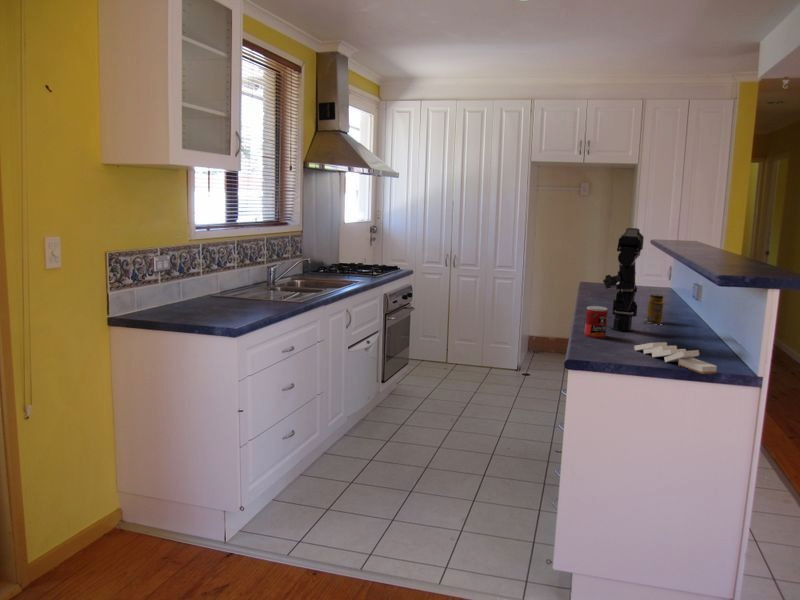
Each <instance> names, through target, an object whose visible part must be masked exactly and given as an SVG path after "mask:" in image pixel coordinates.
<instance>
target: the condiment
mask: <svg viewBox="0 0 800 600" xmlns="http://www.w3.org/2000/svg"><path fill="white" fill-rule="evenodd" d="M647 304H648V305H647V310H646V311H647V312H646V313H647V314H646V320H647V322H652V323H661V322H662V319H663V318H662V317H663V308H664V296H663V295H661V294H650V295H649V300H648V301H647ZM662 325H663V323H662V324H660V325H659V326H662Z"/></svg>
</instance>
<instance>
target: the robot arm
mask: <svg viewBox="0 0 800 600" xmlns="http://www.w3.org/2000/svg"><path fill="white" fill-rule="evenodd" d="M640 231H641V230H640V229H639V228H638V227H637V228H636V227H634V228H633V227H628V228H626V231H625V232H624V233H623V234H621V236H620V237H618V243H617V248H616V251H617V252H619V254H618V255H617V260H618V268H619V270H618V271H617V275H613V276H612V275H611V274H608V275H605V278H604V279H603V280H602V282H603V284H604V287H605V289H607V290H608V289H611V288H612V287H615V289H616V290H617V292H616V296H615V299H613V303H612V315H613V316H614V318H613V326H612V327H611V326H610V329H611V330H613V331H618V332H634V331H635V330H634V329H632V322H633V318H634V317H637V314H638V305H637V301H635V296H636V294H637V293H638V287H637V286H636V274H637V272H636V260H637V259H638V258H639V257H640V256H641V252H642V251H641V250H643V249H644V248H643V247H644V240H645V239H644V236H643V234H642V233H641V232H640Z"/></svg>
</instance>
